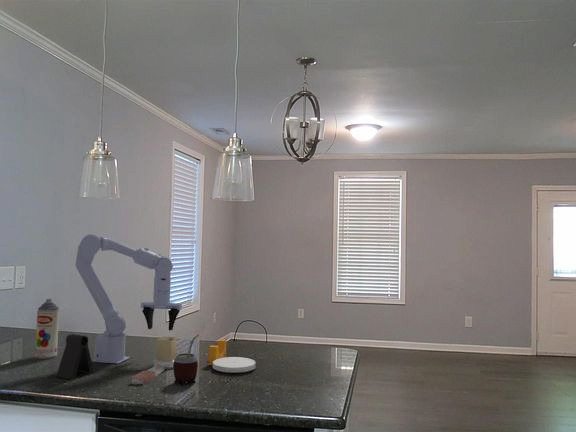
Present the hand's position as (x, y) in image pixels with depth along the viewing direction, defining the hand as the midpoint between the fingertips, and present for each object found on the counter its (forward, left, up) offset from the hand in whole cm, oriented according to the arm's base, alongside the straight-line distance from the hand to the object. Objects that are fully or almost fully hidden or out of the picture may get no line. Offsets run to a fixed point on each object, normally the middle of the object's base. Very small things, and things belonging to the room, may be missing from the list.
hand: (160, 329), depth 175 cm
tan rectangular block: (+7, -10, -8) cm, 15 cm away
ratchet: (+7, -18, -10) cm, 22 cm away
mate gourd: (+20, -26, -10) cm, 34 cm away
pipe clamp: (+20, +1, -10) cm, 23 cm away
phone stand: (-15, -27, -10) cm, 33 cm away
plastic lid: (+29, -7, -10) cm, 32 cm away
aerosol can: (-37, -10, -10) cm, 40 cm away
